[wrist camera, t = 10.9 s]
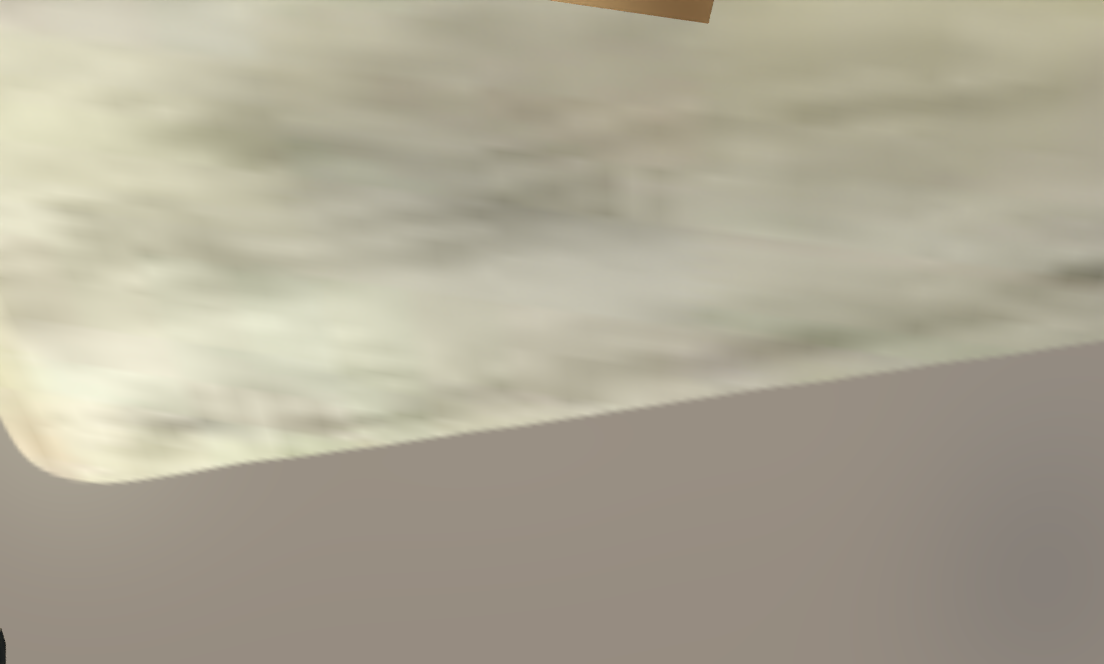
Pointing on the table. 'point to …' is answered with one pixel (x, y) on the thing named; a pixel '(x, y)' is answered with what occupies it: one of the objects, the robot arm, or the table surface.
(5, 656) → the robot arm
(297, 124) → the table surface
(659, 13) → the lid
